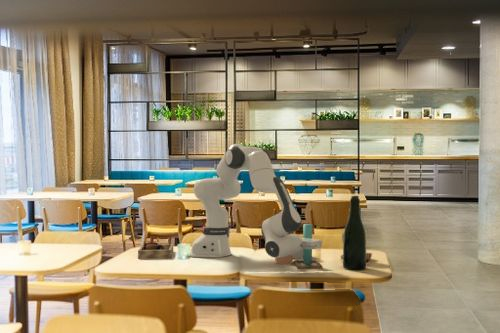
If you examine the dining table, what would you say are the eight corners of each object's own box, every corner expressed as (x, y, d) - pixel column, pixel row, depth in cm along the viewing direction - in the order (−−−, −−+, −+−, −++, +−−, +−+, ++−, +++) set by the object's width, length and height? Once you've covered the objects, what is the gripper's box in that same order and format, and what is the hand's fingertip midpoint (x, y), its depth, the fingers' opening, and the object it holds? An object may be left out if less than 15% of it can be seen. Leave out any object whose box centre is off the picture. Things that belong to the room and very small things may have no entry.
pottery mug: (139, 259, 306) (138, 243, 310) (147, 264, 315) (146, 248, 318) (161, 253, 304) (160, 238, 308) (169, 259, 312) (168, 243, 316)
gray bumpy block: (285, 260, 301) (285, 242, 300) (286, 255, 314) (286, 238, 313) (307, 260, 300) (307, 242, 299) (307, 255, 313) (307, 238, 312)
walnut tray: (297, 270, 276) (297, 266, 276) (293, 264, 290) (293, 260, 290) (322, 270, 277) (322, 265, 277) (317, 264, 291) (317, 260, 291)
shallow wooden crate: (138, 258, 305) (138, 250, 305) (142, 252, 323) (142, 244, 323) (170, 258, 306) (170, 250, 306) (173, 251, 324) (173, 244, 324)
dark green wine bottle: (338, 267, 284) (338, 195, 283) (357, 265, 288) (358, 194, 287) (351, 271, 275) (351, 197, 273) (370, 269, 279) (371, 196, 278)
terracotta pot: (276, 265, 288) (276, 251, 288) (274, 262, 295) (274, 248, 295) (292, 265, 288) (292, 251, 288) (290, 262, 296) (290, 248, 296)
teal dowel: (303, 264, 281) (304, 225, 280) (302, 262, 285) (302, 224, 284) (312, 264, 281) (312, 225, 281) (311, 262, 285) (311, 223, 285)
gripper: (312, 239, 266) (328, 235, 277) (273, 234, 278) (290, 231, 290) (312, 253, 266) (328, 249, 278) (273, 248, 279) (290, 244, 290)
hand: (308, 240), depth 284 cm, fingers closed on teal dowel, 4 cm apart
